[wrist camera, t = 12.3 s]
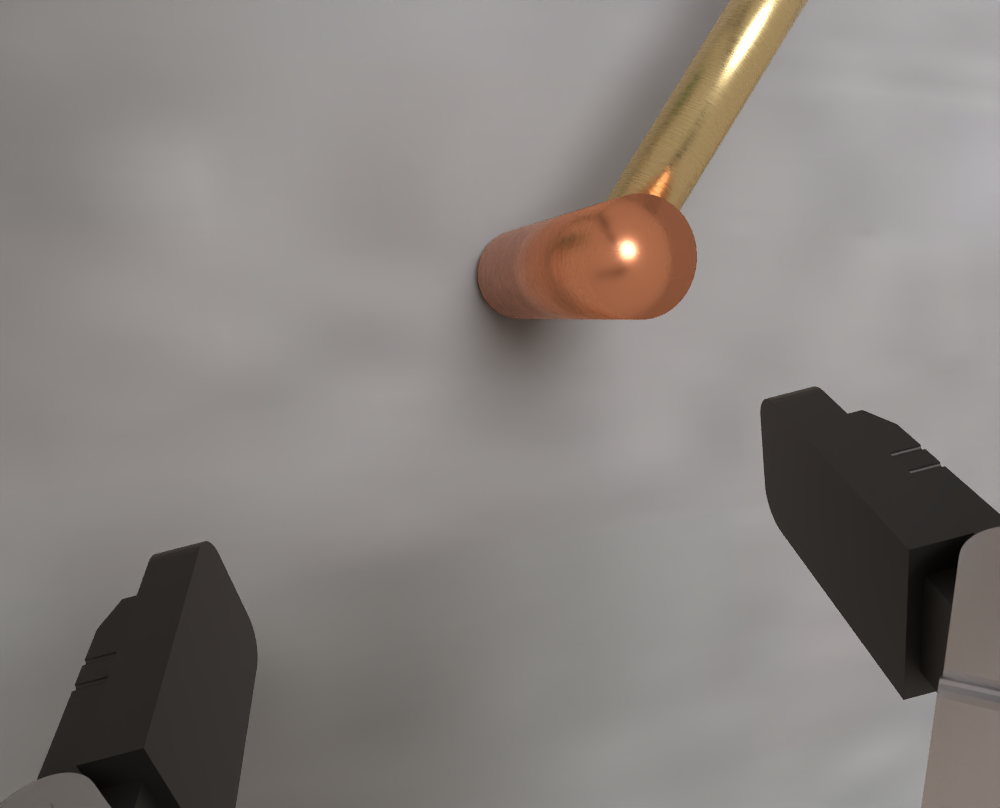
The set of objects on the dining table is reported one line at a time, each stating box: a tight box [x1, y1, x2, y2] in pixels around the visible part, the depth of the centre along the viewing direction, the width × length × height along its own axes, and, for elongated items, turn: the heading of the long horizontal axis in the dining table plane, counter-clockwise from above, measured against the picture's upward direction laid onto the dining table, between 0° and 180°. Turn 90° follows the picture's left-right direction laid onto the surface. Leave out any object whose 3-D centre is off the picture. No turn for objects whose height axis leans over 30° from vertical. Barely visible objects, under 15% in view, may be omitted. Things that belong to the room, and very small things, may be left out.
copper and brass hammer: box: [478, 0, 808, 320], centre depth 25 cm, size 20×3×9 cm, turn 147°
